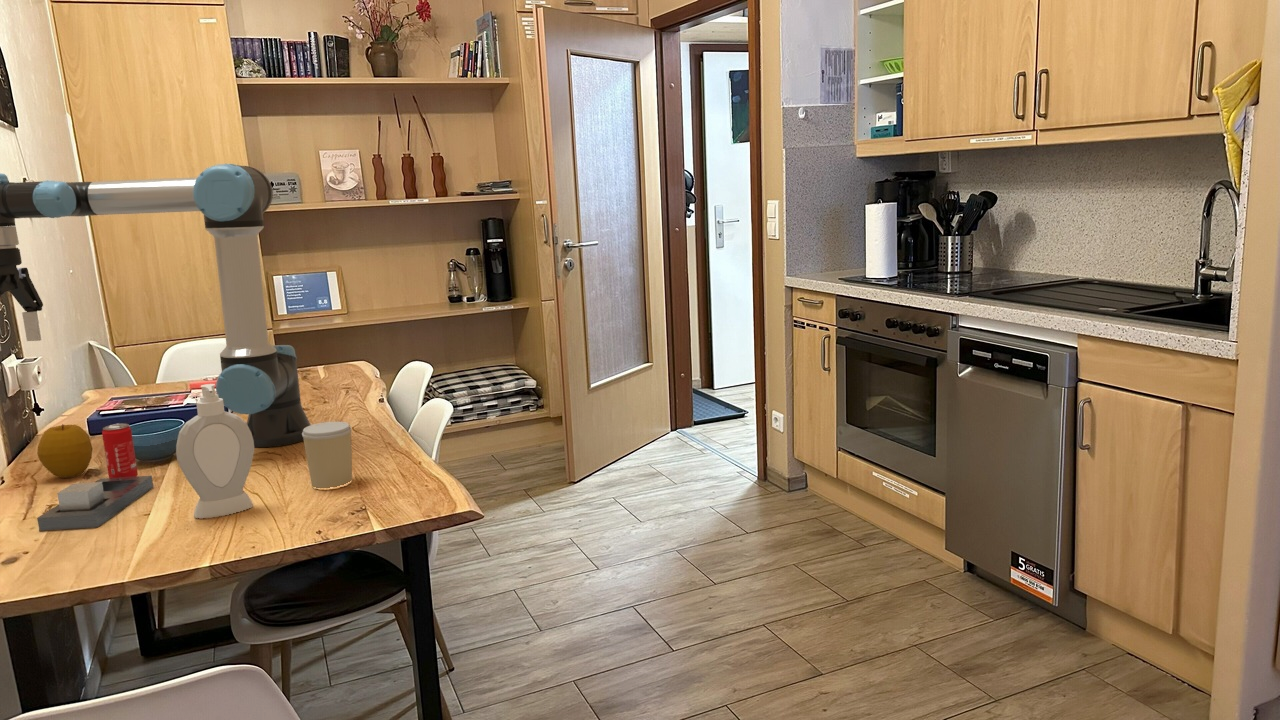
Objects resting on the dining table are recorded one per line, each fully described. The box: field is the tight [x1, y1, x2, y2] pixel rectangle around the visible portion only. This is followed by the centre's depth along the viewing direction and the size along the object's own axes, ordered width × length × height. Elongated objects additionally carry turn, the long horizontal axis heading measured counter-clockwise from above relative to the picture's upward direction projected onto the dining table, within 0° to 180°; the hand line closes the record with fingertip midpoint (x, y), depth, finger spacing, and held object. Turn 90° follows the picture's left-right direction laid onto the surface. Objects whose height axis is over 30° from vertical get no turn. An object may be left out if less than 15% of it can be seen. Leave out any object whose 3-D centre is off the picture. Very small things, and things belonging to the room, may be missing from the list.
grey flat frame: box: [36, 475, 154, 532], centre depth 166 cm, size 10×22×6 cm, turn 5°
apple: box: [36, 423, 93, 479], centre depth 186 cm, size 10×10×12 cm
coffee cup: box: [302, 421, 353, 488], centre depth 175 cm, size 9×9×12 cm
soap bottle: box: [175, 383, 255, 520], centre depth 159 cm, size 13×8×24 cm, turn 122°
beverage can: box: [101, 423, 139, 478], centre depth 181 cm, size 5×5×12 cm
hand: (14, 346), depth 189 cm, fingers open, 13 cm apart
